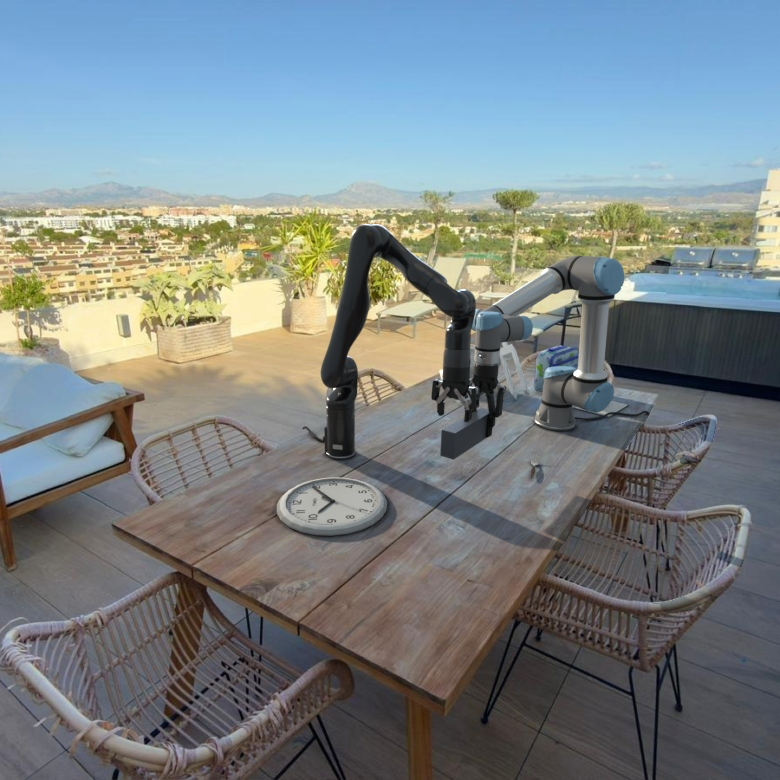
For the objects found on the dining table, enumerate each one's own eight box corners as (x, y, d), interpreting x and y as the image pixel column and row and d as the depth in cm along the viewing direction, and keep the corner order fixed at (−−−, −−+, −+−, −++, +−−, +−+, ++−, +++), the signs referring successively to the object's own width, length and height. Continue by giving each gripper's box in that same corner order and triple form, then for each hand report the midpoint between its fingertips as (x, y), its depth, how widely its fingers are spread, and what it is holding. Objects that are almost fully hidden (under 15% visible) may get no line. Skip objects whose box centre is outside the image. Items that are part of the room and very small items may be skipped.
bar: (479, 431, 170) (481, 407, 168) (492, 434, 168) (493, 410, 165) (440, 455, 151) (441, 429, 149) (453, 459, 149) (455, 433, 146)
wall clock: (392, 527, 129) (268, 531, 127) (391, 533, 130) (269, 537, 127) (383, 473, 158) (282, 475, 155) (383, 478, 158) (282, 480, 156)
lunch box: (550, 398, 235) (555, 353, 229) (529, 393, 243) (534, 349, 236) (577, 387, 253) (583, 345, 247) (557, 382, 260) (562, 341, 254)
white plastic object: (461, 429, 252) (437, 405, 227) (444, 352, 274) (420, 323, 250) (535, 404, 240) (518, 377, 215) (510, 326, 262) (492, 293, 237)
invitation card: (608, 416, 214) (573, 407, 224) (608, 416, 214) (573, 408, 224) (628, 404, 229) (594, 396, 238) (628, 405, 229) (594, 397, 238)
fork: (526, 479, 159) (527, 473, 159) (531, 458, 173) (532, 453, 173) (535, 480, 158) (536, 474, 158) (539, 460, 173) (540, 454, 172)
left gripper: (427, 362, 146) (425, 416, 150) (473, 370, 138) (469, 427, 142) (441, 357, 151) (439, 409, 156) (486, 364, 143) (482, 420, 148)
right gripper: (455, 360, 161) (451, 431, 168) (507, 370, 151) (501, 444, 158) (466, 356, 167) (462, 424, 174) (518, 365, 157) (511, 437, 164)
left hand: (454, 418), depth 149 cm, fingers open, 8 cm apart
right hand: (481, 434), depth 166 cm, fingers closed on bar, 4 cm apart
